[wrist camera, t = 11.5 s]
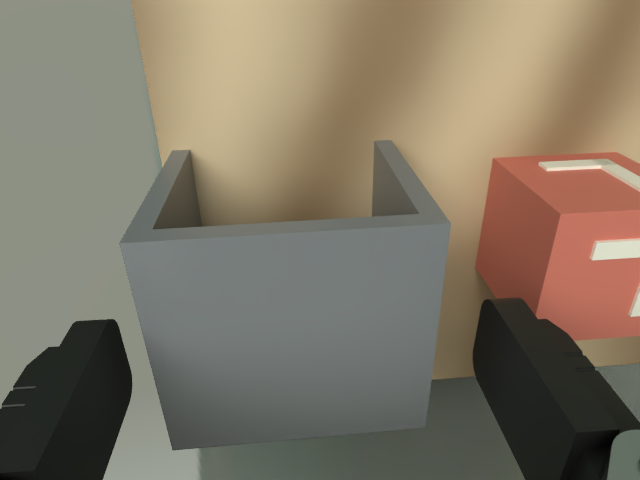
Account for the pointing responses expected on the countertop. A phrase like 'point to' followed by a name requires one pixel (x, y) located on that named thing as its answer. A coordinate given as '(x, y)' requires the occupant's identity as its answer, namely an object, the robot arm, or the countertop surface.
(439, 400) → the countertop surface
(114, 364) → the robot arm
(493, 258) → the letter cube
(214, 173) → the board
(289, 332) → the cover
